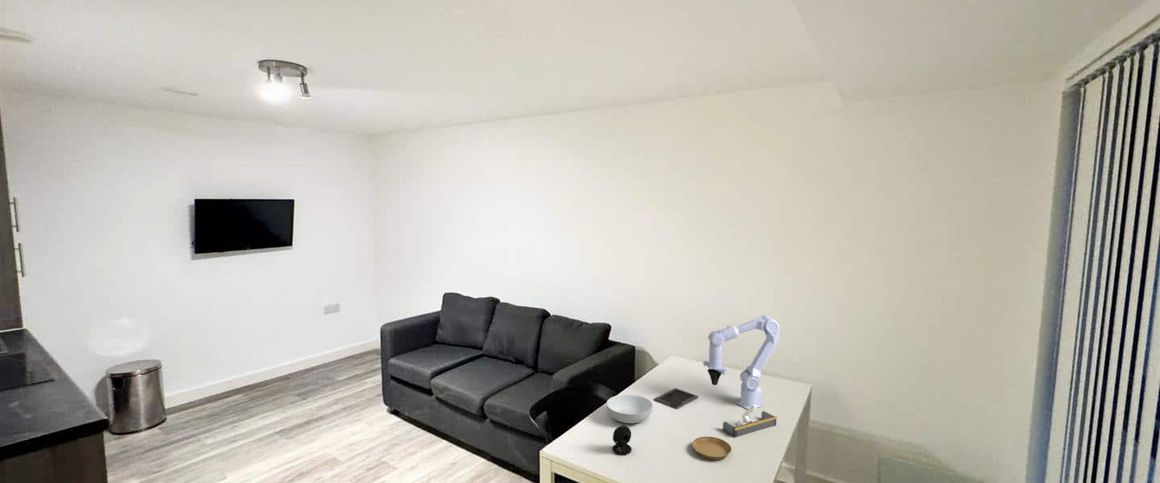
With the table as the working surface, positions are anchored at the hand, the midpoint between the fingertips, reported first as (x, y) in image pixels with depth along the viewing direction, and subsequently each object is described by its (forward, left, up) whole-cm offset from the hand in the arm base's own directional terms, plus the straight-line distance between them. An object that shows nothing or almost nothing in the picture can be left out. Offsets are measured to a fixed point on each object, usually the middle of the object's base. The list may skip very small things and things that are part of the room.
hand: (714, 384), depth 221 cm
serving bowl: (+44, -6, -10) cm, 46 cm away
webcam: (+61, +16, -10) cm, 64 cm away
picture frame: (+13, -13, -11) cm, 21 cm away
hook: (+2, +22, -10) cm, 25 cm away
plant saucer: (+30, +32, -10) cm, 45 cm away
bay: (+2, +25, -10) cm, 27 cm away
